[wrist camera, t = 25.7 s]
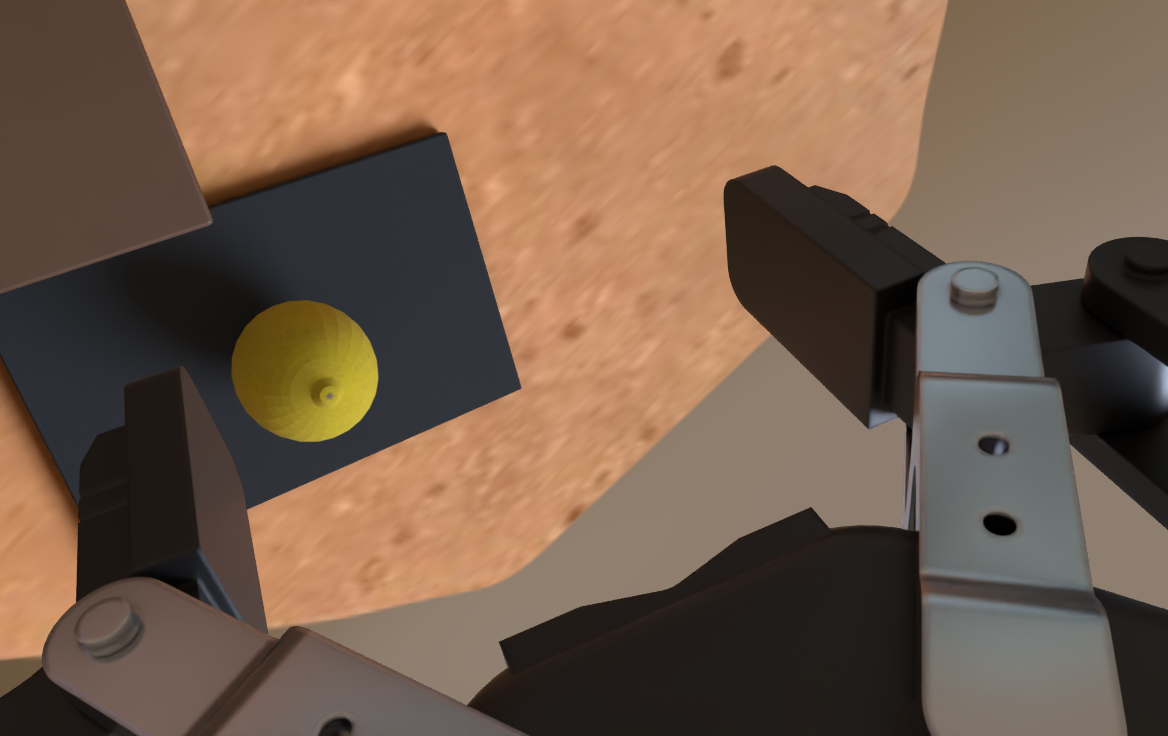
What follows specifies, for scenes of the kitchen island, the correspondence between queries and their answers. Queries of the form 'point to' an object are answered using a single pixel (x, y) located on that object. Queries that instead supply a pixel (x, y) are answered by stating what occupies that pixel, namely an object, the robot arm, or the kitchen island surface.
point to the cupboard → (84, 142)
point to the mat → (259, 281)
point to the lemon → (304, 371)
